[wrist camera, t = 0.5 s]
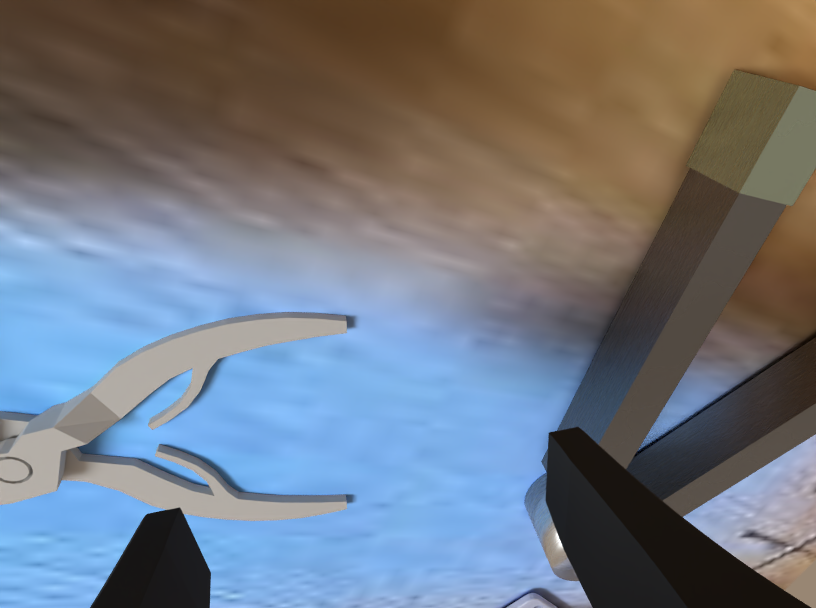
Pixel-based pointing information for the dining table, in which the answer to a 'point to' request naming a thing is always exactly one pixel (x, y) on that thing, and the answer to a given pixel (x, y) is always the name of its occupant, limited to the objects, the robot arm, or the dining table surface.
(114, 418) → the pliers
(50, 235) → the dining table surface
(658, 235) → the arm
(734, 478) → the tongs frame
